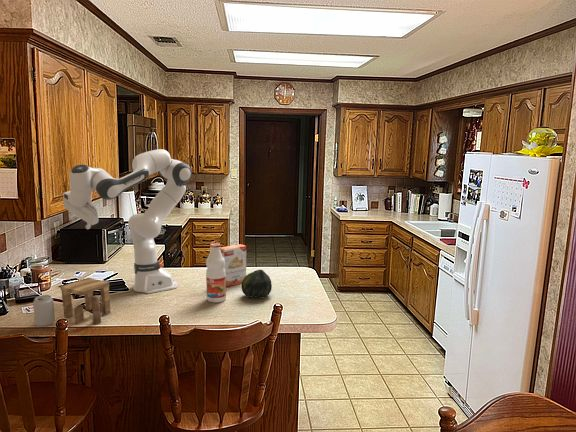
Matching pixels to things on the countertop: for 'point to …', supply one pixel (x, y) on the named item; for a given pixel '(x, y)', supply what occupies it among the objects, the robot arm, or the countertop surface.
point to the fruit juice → (215, 275)
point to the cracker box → (234, 263)
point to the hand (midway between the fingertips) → (81, 224)
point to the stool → (85, 289)
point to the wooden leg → (96, 309)
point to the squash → (256, 284)
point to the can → (44, 310)
